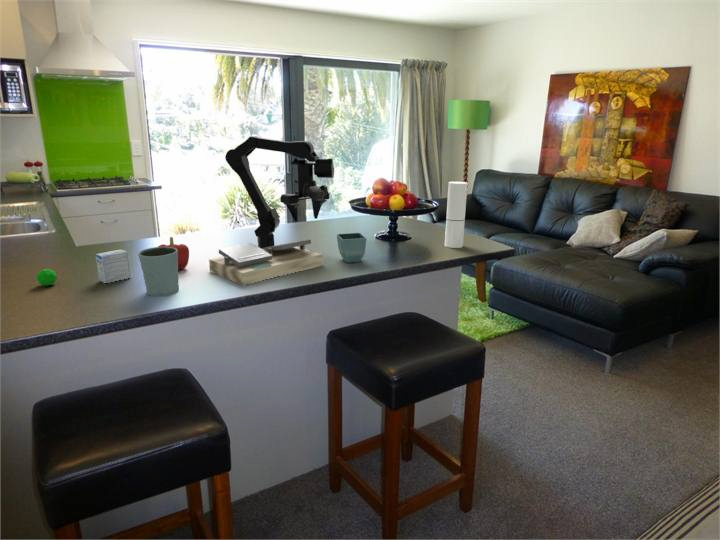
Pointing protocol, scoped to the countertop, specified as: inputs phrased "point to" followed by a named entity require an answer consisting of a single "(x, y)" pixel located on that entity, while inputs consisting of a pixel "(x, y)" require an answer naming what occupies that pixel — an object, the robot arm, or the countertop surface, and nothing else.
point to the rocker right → (288, 245)
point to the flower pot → (351, 246)
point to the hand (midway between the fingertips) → (306, 220)
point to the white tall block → (455, 214)
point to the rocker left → (245, 254)
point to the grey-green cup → (160, 270)
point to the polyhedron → (47, 277)
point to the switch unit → (268, 265)
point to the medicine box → (113, 266)
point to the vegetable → (180, 253)
